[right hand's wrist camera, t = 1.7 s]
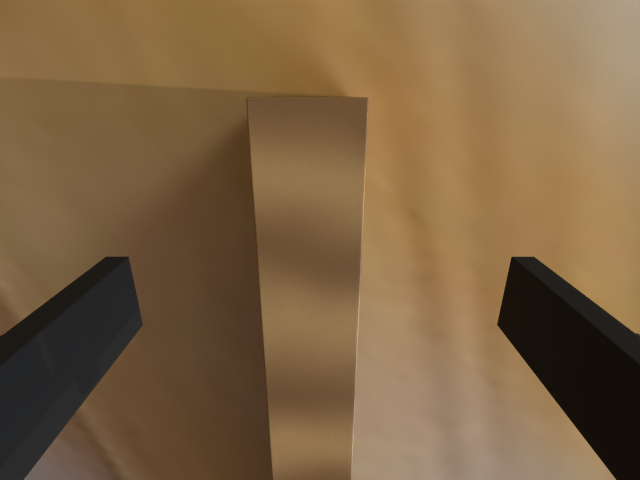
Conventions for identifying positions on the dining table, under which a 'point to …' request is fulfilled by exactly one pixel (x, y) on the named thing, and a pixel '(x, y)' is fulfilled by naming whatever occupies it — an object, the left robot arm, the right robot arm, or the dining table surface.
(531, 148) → the dining table surface
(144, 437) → the dining table surface
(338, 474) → the post
